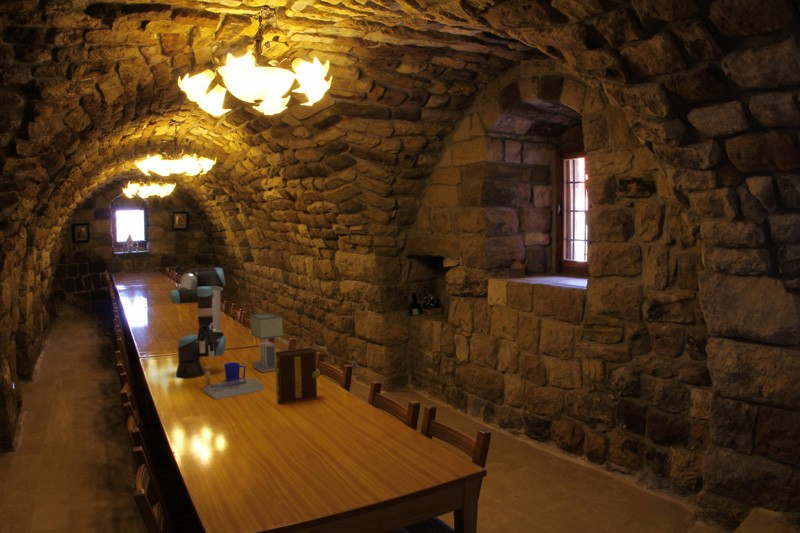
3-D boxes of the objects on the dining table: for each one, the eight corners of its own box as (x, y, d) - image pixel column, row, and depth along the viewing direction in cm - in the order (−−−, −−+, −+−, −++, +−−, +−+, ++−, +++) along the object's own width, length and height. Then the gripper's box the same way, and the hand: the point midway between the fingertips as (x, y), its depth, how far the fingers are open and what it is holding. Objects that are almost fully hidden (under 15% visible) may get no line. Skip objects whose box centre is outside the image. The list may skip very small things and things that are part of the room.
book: (280, 405, 288) (278, 354, 286) (275, 401, 296) (273, 351, 294) (323, 398, 298) (321, 349, 297) (317, 394, 306) (316, 346, 304)
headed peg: (202, 388, 320) (201, 366, 319) (211, 387, 323) (210, 364, 322) (205, 390, 316) (204, 367, 315) (214, 389, 319) (213, 366, 318)
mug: (242, 384, 328) (241, 366, 327) (222, 383, 330) (221, 365, 330) (249, 380, 336) (248, 362, 335) (229, 379, 338) (228, 362, 338)
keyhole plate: (215, 399, 300) (215, 392, 300) (203, 392, 314) (203, 385, 313) (263, 389, 316) (263, 383, 316) (250, 383, 329) (250, 377, 329)
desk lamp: (251, 367, 366) (249, 314, 364) (273, 364, 374) (272, 312, 371) (261, 373, 351) (259, 318, 348) (284, 370, 358) (282, 316, 356)
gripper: (190, 313, 324) (192, 352, 326) (206, 318, 304) (208, 359, 306) (204, 312, 329) (205, 350, 330) (221, 317, 309) (222, 357, 310)
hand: (206, 355), depth 318 cm, fingers open, 13 cm apart
